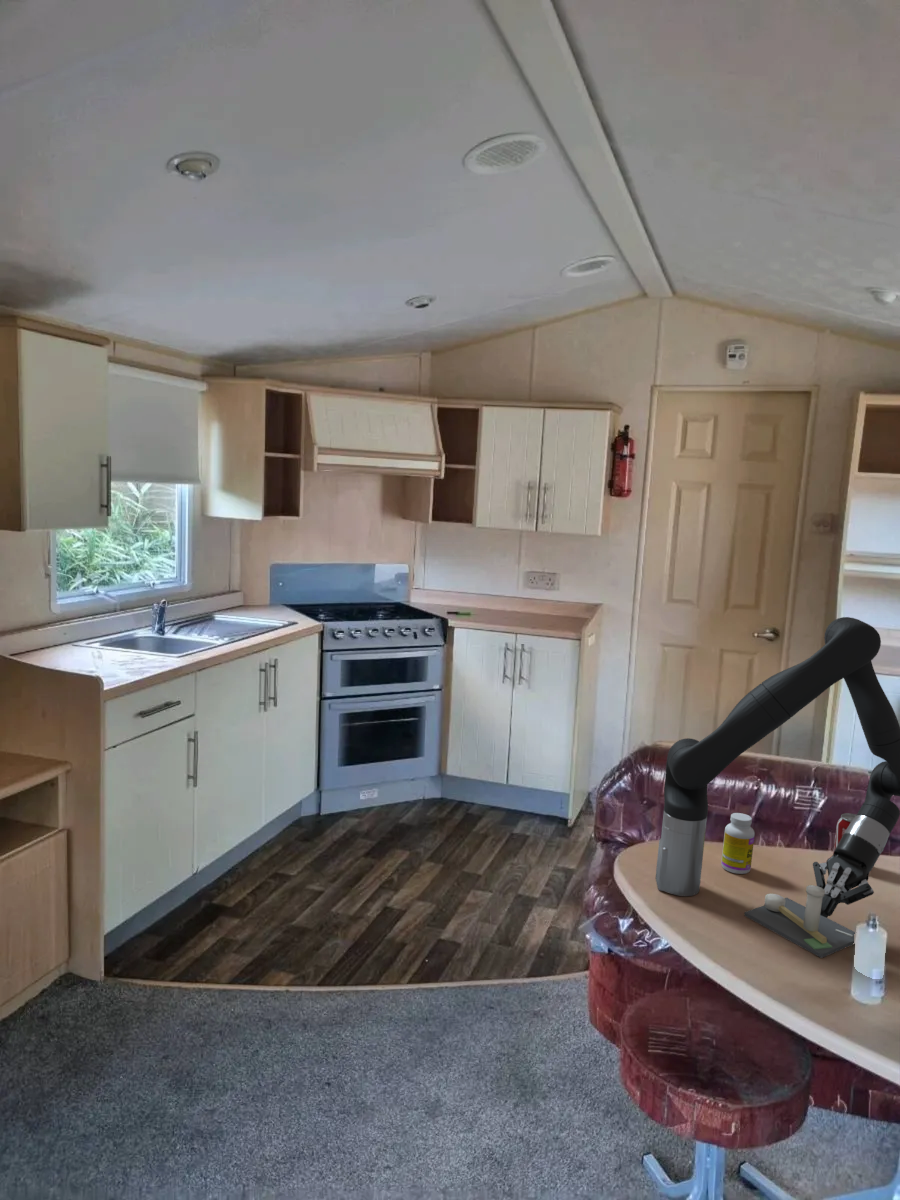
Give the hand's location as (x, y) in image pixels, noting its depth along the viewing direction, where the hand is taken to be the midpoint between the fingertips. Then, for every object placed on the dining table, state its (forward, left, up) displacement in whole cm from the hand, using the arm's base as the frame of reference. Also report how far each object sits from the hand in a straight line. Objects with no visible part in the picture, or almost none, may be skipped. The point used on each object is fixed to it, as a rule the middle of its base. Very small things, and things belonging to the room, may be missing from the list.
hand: (821, 914), depth 173 cm
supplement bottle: (-11, +29, -6) cm, 32 cm away
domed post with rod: (-4, +3, -4) cm, 7 cm away
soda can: (+17, +38, -5) cm, 42 cm away
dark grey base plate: (-2, +4, -5) cm, 7 cm away
